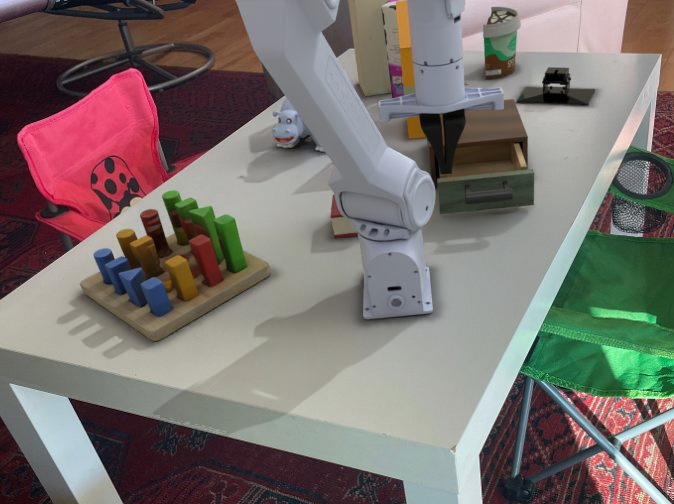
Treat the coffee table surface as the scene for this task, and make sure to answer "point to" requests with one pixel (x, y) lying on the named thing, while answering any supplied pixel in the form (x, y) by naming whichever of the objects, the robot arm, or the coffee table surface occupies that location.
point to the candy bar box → (393, 47)
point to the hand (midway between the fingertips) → (445, 171)
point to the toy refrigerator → (370, 46)
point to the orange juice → (407, 65)
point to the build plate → (556, 90)
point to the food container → (500, 42)
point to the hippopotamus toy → (290, 127)
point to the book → (341, 223)
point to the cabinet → (487, 132)
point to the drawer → (486, 179)
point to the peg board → (173, 269)
